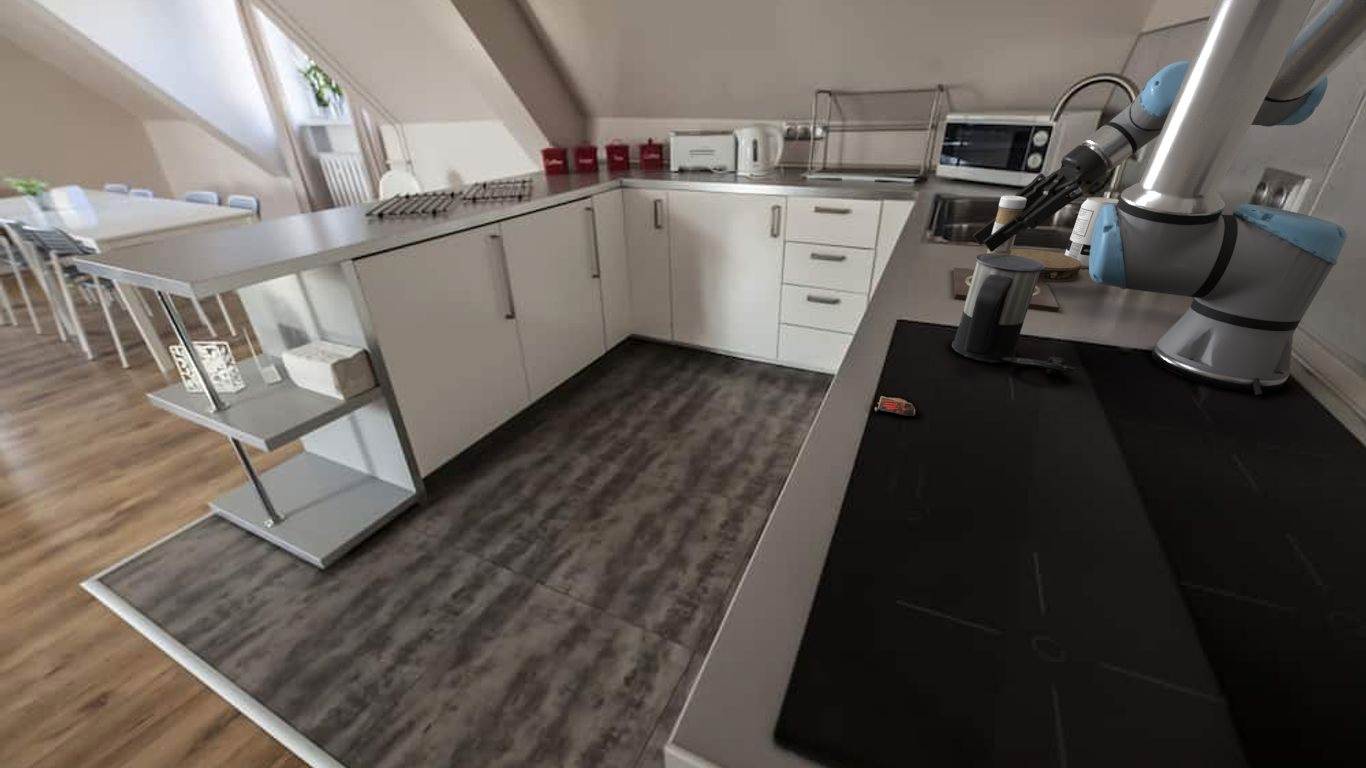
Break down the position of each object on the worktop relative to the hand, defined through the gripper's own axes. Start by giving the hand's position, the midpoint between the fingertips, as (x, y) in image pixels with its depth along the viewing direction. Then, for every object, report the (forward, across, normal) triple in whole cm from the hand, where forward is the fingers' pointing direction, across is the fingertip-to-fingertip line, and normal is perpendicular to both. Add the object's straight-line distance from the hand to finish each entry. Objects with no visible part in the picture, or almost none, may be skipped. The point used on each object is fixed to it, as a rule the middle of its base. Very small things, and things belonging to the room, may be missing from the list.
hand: (982, 243), depth 114 cm
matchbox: (+28, -53, +16) cm, 62 cm away
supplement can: (-18, +20, -31) cm, 41 cm away
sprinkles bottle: (0, 0, -6) cm, 6 cm away
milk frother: (+13, -37, 0) cm, 39 cm away
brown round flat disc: (-8, +13, -21) cm, 26 cm away
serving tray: (+3, -2, -10) cm, 11 cm away
